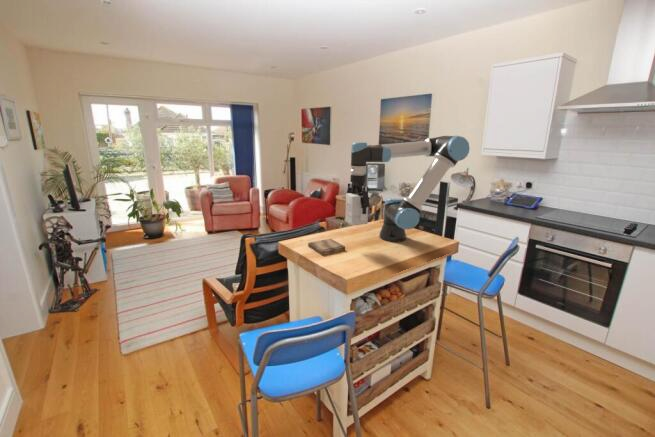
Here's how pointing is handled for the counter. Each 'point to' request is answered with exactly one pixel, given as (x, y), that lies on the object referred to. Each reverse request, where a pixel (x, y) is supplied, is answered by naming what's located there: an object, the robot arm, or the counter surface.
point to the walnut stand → (326, 246)
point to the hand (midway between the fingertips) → (356, 217)
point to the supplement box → (354, 210)
